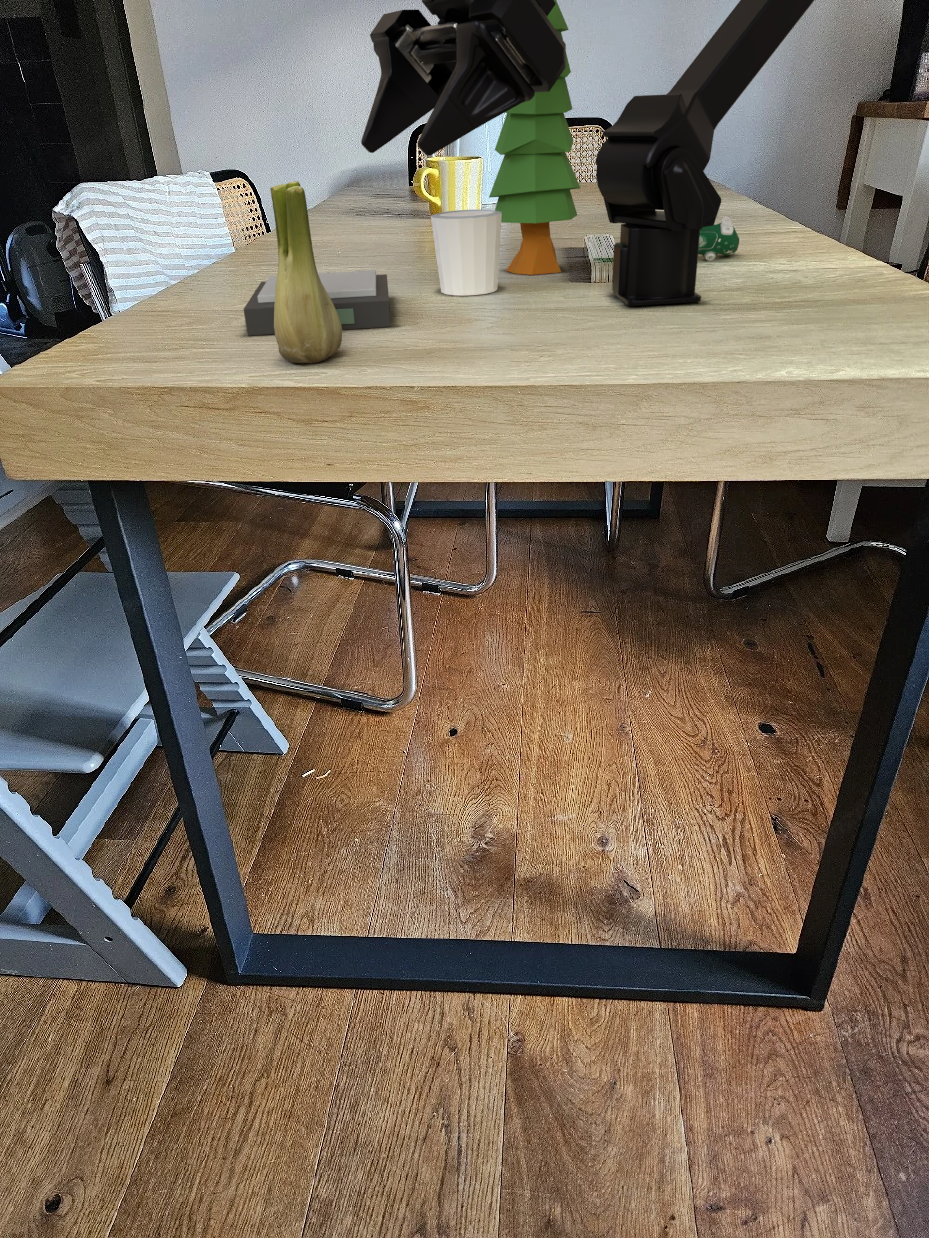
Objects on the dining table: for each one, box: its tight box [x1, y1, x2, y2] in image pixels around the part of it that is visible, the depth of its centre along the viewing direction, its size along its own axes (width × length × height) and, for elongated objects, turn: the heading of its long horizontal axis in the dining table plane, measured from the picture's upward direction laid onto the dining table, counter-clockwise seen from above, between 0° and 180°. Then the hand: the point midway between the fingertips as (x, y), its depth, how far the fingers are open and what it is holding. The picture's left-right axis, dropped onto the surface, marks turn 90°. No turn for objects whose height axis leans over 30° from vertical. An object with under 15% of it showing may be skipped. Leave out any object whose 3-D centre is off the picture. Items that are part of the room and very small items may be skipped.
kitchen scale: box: [243, 269, 392, 337], centre depth 79 cm, size 12×13×3 cm
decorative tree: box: [488, 0, 581, 276], centre depth 89 cm, size 10×9×30 cm
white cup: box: [430, 209, 502, 297], centre depth 86 cm, size 7×7×7 cm
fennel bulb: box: [269, 180, 343, 364], centre depth 63 cm, size 6×5×12 cm
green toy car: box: [698, 215, 740, 262], centre depth 97 cm, size 9×4×6 cm
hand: (392, 149), depth 63 cm, fingers open, 9 cm apart
